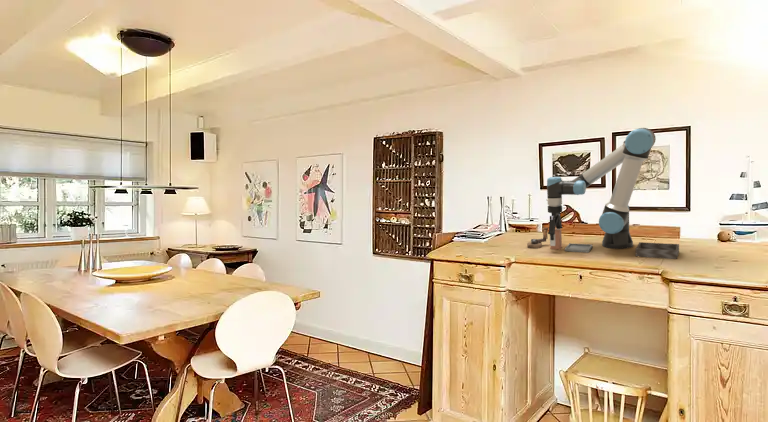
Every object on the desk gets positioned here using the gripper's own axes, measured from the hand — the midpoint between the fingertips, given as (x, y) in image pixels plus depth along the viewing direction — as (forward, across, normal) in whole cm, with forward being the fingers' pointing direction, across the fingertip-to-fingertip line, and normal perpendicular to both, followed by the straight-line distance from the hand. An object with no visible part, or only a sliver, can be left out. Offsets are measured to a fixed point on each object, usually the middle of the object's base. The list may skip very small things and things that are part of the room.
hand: (555, 242), depth 268 cm
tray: (+3, 0, +12) cm, 12 cm away
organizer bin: (+3, +2, +49) cm, 50 cm away
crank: (+1, -3, -10) cm, 10 cm away
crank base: (+3, 0, -12) cm, 12 cm away
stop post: (+3, 0, 0) cm, 3 cm away
